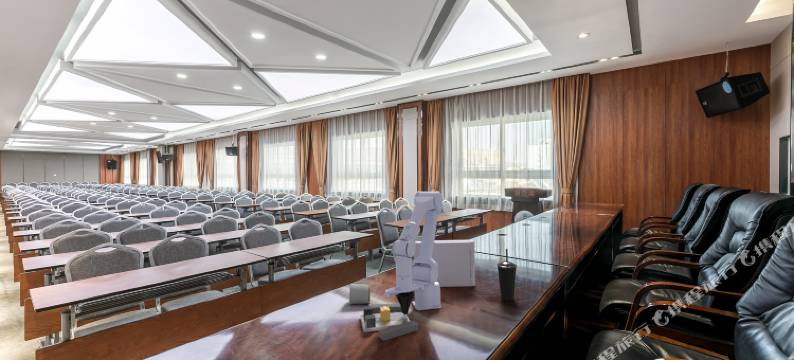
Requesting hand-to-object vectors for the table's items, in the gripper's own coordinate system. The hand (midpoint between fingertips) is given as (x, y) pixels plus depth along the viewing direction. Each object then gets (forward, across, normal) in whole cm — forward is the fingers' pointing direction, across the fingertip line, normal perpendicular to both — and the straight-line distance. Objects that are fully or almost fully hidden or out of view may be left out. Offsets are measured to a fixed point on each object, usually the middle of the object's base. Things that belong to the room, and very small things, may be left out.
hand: (405, 313), depth 122 cm
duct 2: (+3, +6, +7) cm, 10 cm away
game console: (+3, -34, -23) cm, 42 cm away
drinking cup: (+3, -45, +4) cm, 45 cm away
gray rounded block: (+3, +7, -25) cm, 26 cm away
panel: (+2, +7, -2) cm, 7 cm away
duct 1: (+3, +1, -9) cm, 9 cm away
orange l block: (+1, +7, -2) cm, 7 cm away
